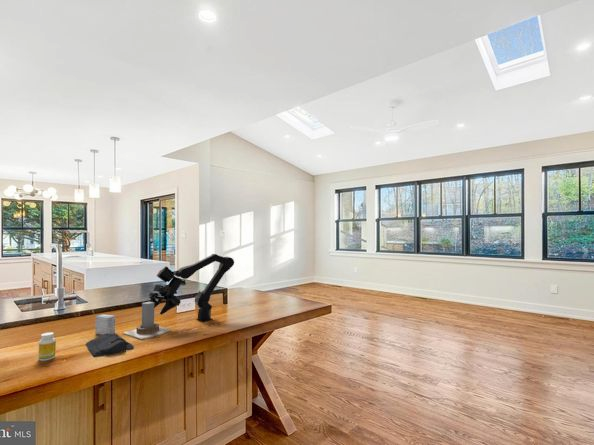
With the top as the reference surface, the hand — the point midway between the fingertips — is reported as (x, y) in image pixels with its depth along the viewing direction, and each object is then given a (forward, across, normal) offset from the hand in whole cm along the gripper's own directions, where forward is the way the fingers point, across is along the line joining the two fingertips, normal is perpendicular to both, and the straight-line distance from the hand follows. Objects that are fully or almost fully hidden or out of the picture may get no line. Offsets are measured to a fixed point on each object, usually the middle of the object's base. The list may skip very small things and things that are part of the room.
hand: (154, 313), depth 164 cm
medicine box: (+17, -16, -4) cm, 24 cm away
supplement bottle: (+37, -6, -25) cm, 46 cm away
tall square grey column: (+8, 0, +3) cm, 9 cm away
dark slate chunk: (+24, +2, -11) cm, 26 cm away
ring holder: (+9, 0, +4) cm, 10 cm away
